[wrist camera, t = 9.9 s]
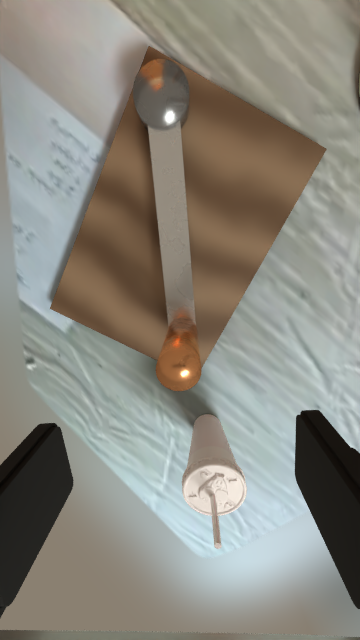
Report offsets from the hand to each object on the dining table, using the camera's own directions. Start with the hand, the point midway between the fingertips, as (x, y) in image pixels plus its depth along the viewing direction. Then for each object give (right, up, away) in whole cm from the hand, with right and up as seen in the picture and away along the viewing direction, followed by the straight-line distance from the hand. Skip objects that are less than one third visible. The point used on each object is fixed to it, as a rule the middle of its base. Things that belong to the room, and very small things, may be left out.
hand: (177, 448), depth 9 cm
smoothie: (+4, -9, +24) cm, 26 cm away
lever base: (0, +14, +18) cm, 23 cm away
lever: (-1, +15, +16) cm, 22 cm away
